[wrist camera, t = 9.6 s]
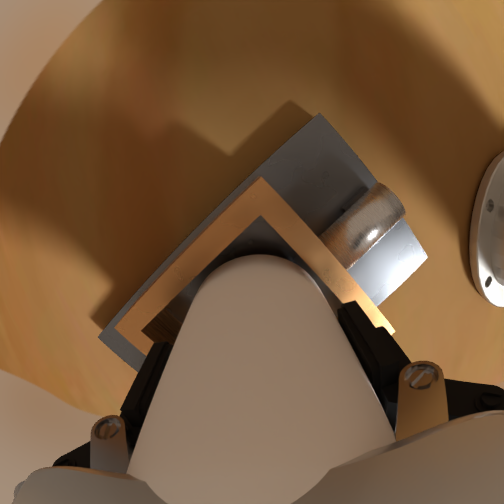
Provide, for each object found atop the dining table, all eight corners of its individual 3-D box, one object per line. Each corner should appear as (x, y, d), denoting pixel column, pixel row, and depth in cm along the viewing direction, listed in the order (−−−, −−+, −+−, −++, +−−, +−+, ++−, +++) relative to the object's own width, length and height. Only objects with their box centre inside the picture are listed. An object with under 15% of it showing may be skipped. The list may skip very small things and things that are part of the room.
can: (169, 287, 14) (39, 517, 2) (290, 227, 13) (452, 498, 1) (233, 379, 15) (219, 585, 4) (339, 334, 14) (430, 542, 3)
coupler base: (314, 117, 13) (337, 98, 9) (417, 251, 15) (457, 274, 11) (104, 328, 17) (76, 363, 13) (213, 412, 19) (208, 456, 15)
